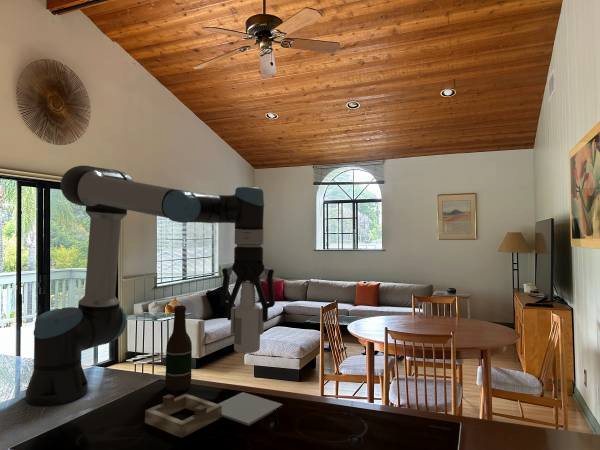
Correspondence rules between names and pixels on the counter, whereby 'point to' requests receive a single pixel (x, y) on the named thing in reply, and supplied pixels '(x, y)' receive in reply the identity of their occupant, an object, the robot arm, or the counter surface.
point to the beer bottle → (179, 354)
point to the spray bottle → (247, 321)
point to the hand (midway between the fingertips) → (247, 332)
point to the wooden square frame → (160, 413)
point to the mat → (247, 408)
